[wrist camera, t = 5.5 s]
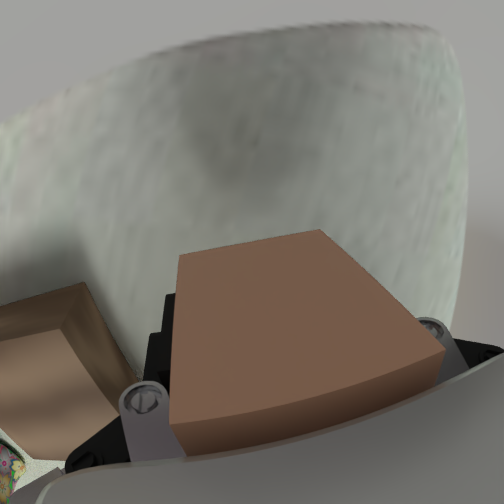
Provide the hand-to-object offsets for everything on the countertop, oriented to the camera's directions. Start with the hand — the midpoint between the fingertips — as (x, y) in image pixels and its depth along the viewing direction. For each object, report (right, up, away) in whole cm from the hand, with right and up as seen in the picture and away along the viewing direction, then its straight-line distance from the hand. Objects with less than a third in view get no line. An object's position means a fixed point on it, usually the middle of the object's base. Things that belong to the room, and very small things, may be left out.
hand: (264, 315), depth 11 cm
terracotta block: (0, 0, +1) cm, 1 cm away
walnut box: (-15, -6, +8) cm, 18 cm away
